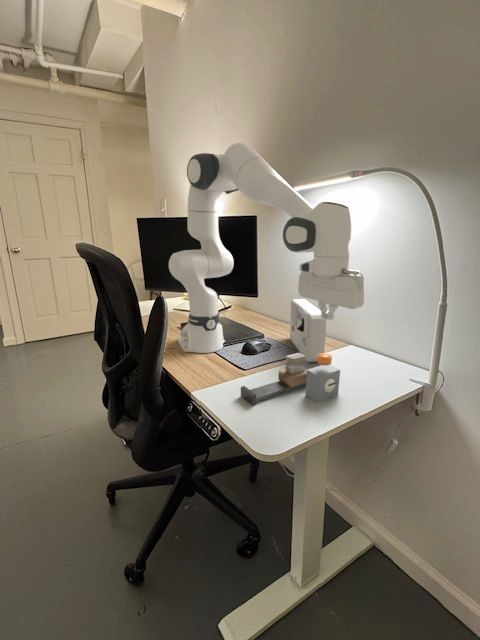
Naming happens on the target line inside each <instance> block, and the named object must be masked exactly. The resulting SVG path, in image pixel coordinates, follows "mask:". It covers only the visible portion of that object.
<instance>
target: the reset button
mask: <svg viewBox="0 0 480 640" xmlns="http://www.w3.org/2000/svg"><path fill="white" fill-rule="evenodd" d="M332 360H333V356H332V355H331V354H329V353H326V352H324V353H320V354H318V355H317V362H316V363H317V365H319V366H321V365H332Z"/></svg>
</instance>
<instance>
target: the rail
mask: <svg viewBox="0 0 480 640" xmlns="http://www.w3.org/2000/svg"><path fill="white" fill-rule="evenodd" d="M301 388H306V383H303V384H300V385H296V386H293V387H290V386H288V385H286V384H285V383H283V382H282V381H280V380H277V381H275V382H271V383H268V384H264V385H261V386H258V387H254V388H252V389H250V388H248V387H246V386H245V385H242V386H240V397H241V398H242V399H243V400H245V401H246V402H247V403H248V404H250V405H251V406H256V405H257V404H258V403H260V402H263V401H267V400H269V399H273V398H275V397H278V396H281V395H286V394H288V393H290V392H293V391H296V390H299V389H301Z"/></svg>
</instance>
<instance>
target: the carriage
mask: <svg viewBox="0 0 480 640" xmlns="http://www.w3.org/2000/svg"><path fill="white" fill-rule="evenodd" d="M308 369H309V368H306V359H305V355H303V354H301V353H300V352H296V353H292V354H289V355H286V356H285V368H283V369H280V370H278V374H277V375H278V376H277V377H278V380H277V381H282V382H283V383H285V384H286V385H288V386H290V387H293V386H296V385H300V384H303V383H306V377H307V370H308Z"/></svg>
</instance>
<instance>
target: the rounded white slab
mask: <svg viewBox="0 0 480 640" xmlns="http://www.w3.org/2000/svg"><path fill="white" fill-rule="evenodd" d="M289 315H290V317H289V318H290V320H289V321H290V322H289V338H290V341H291V342H292V344H293V345H294V346H295V348H296V349H297V351H298V352H299V353H301V354H303V355H305V362H307V363H317V355H318V354H320V353H325V348H326V347H325V346H326V345H325V344H326V331H327V330H326V329H327V319H325V318H322V317H321V310H320V308H319V307H316V306H315V305H313V304H312V303H311V302H309V301H308V300H306V299H305V298H300V299H297V298H296V299H291V300H290V314H289Z"/></svg>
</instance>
